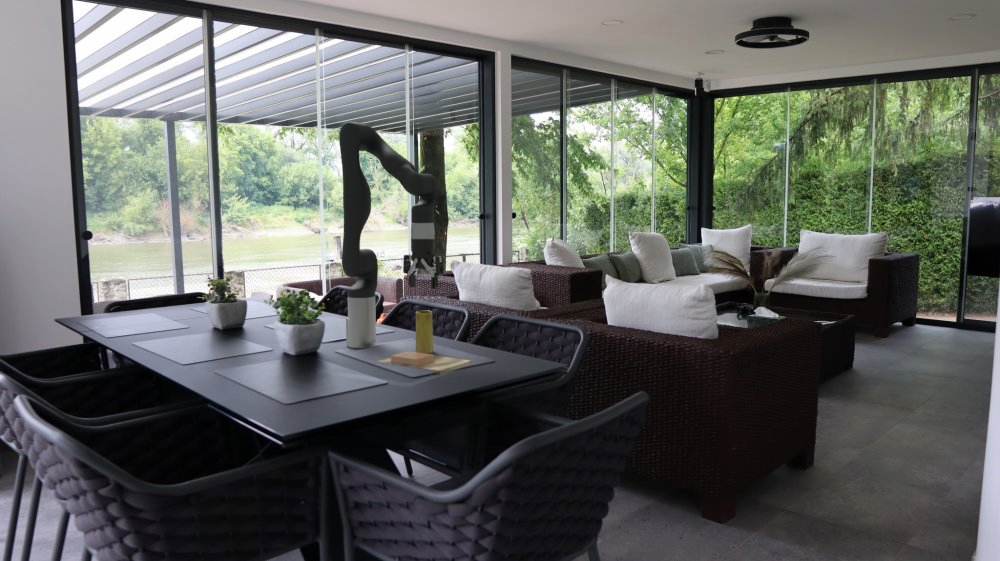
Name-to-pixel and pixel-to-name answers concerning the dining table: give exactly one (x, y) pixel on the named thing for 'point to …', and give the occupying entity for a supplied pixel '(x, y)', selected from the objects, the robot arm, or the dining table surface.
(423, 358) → the tile
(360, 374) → the dining table surface
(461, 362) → the board
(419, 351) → the vase
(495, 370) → the dining table surface
